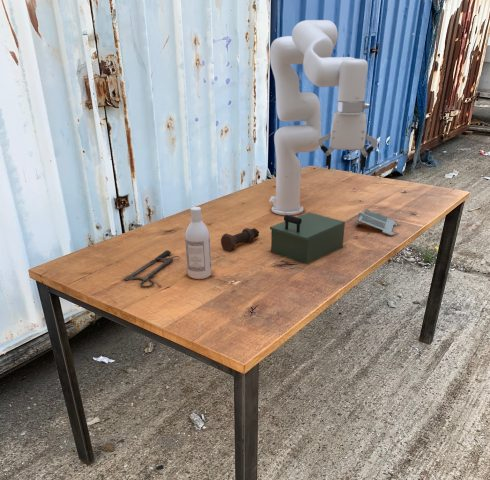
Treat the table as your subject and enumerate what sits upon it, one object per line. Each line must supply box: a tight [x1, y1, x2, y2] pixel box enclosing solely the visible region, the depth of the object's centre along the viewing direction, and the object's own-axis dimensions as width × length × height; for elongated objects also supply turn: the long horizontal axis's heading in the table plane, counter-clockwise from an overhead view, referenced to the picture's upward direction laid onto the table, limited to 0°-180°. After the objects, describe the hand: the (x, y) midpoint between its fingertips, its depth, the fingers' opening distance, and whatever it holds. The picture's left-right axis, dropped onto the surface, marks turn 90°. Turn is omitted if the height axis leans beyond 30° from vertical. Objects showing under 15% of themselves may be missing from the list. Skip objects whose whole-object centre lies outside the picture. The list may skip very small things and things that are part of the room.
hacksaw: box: [124, 249, 181, 288], centre depth 151 cm, size 24×10×2 cm, turn 153°
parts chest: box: [270, 223, 346, 265], centre depth 162 cm, size 19×15×8 cm
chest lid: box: [269, 211, 346, 240], centre depth 159 cm, size 20×15×5 cm
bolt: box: [220, 227, 260, 252], centre depth 168 cm, size 6×5×15 cm
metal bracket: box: [354, 208, 398, 236], centre depth 181 cm, size 14×6×15 cm
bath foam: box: [184, 206, 212, 280], centre depth 143 cm, size 7×7×20 cm
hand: (345, 168), depth 152 cm, fingers open, 9 cm apart
